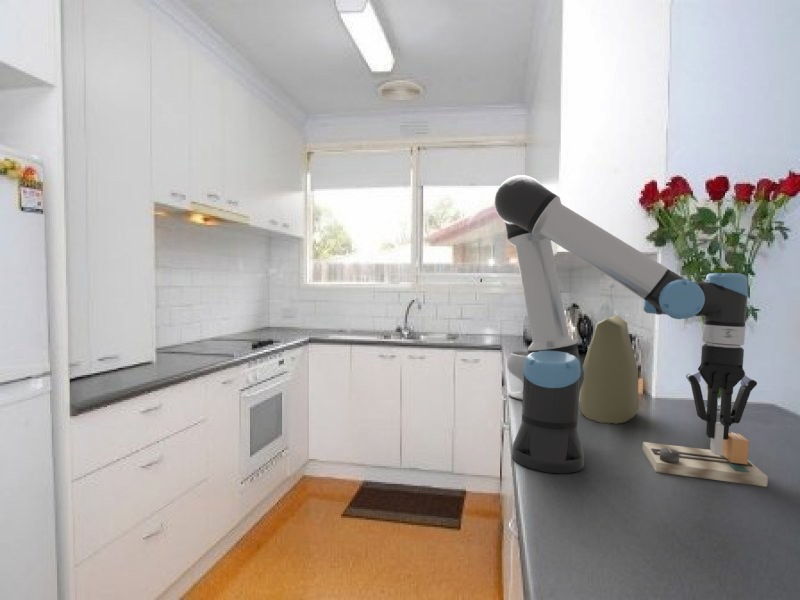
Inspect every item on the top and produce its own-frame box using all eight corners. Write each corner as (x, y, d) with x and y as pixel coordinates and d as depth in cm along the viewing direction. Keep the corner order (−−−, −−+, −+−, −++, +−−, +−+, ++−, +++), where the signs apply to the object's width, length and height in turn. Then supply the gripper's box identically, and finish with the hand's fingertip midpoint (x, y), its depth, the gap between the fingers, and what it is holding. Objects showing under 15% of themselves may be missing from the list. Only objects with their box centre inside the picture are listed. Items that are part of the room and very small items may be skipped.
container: (585, 401, 161) (590, 312, 160) (641, 410, 153) (647, 316, 151) (570, 417, 141) (575, 315, 140) (633, 428, 132) (639, 320, 131)
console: (655, 471, 101) (657, 452, 101) (642, 450, 115) (643, 432, 115) (767, 486, 96) (768, 466, 96) (739, 461, 109) (740, 443, 109)
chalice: (548, 395, 169) (550, 352, 168) (547, 404, 156) (550, 358, 155) (507, 391, 173) (509, 349, 173) (504, 399, 160) (506, 354, 159)
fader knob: (730, 462, 101) (732, 438, 101) (722, 454, 106) (723, 431, 106) (747, 464, 101) (749, 439, 100) (738, 456, 105) (739, 432, 105)
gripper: (693, 344, 102) (687, 454, 103) (766, 349, 98) (758, 463, 99) (683, 341, 109) (677, 443, 110) (750, 345, 105) (743, 451, 106)
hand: (716, 453), depth 104 cm, fingers closed
